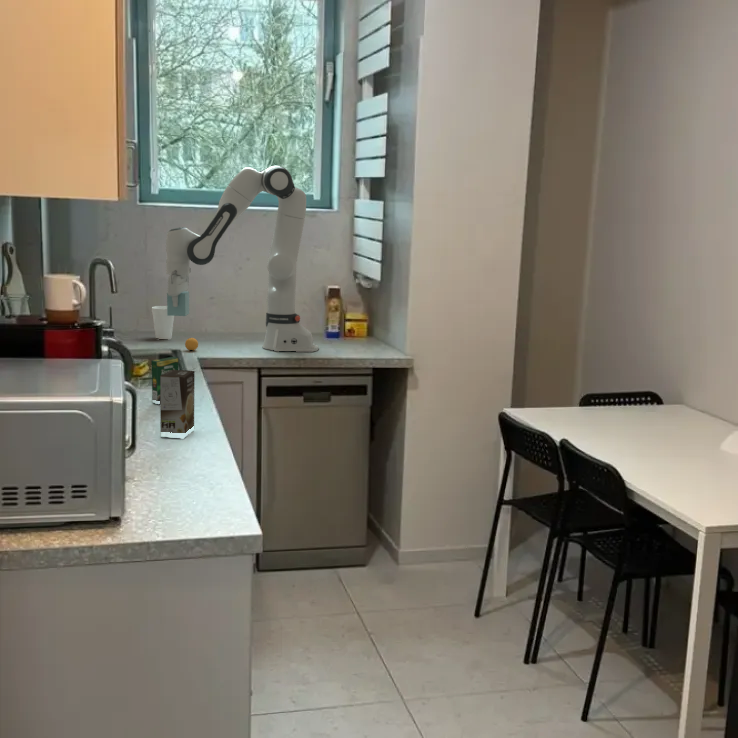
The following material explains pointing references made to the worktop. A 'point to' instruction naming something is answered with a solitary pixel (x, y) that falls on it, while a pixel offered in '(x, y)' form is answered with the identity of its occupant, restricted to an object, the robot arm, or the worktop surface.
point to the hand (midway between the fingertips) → (178, 305)
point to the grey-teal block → (178, 305)
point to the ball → (191, 344)
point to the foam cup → (162, 322)
